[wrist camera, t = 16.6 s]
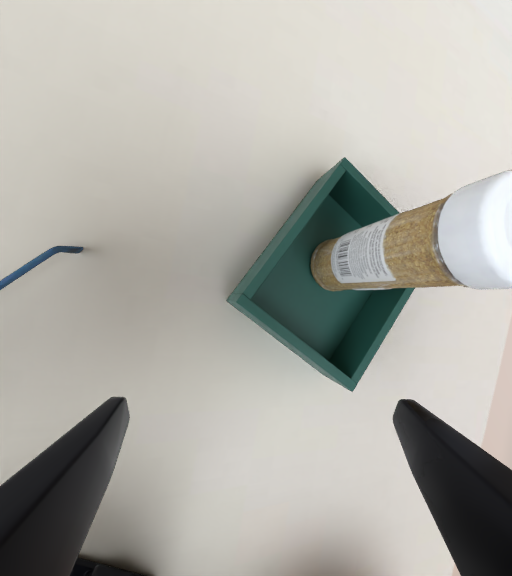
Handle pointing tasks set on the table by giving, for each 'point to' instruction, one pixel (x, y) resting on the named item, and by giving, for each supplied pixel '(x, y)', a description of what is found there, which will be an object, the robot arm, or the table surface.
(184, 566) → the table surface
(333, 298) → the tray
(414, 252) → the sprinkles bottle
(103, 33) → the table surface
